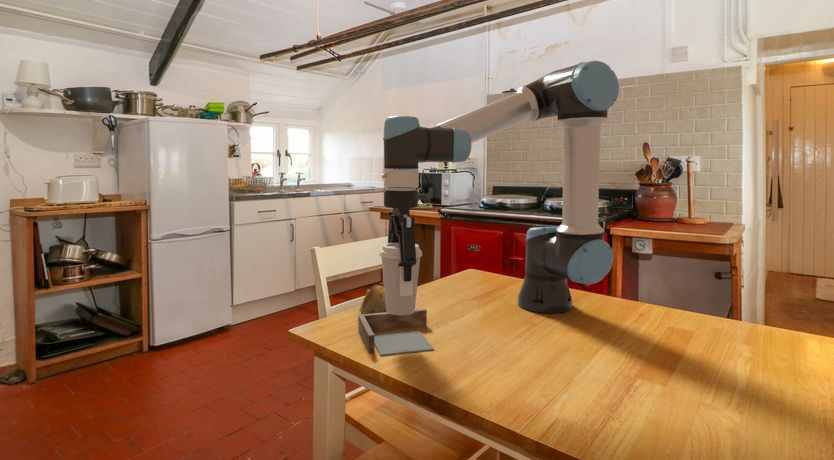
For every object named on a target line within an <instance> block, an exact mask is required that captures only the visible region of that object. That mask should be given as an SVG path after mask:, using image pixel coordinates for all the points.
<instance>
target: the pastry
mask: <svg viewBox="0 0 834 460" xmlns="http://www.w3.org/2000/svg"><path fill="white" fill-rule="evenodd" d="M358 309H359V312H360V313H361V314H373V313H385V312H386V304H385V292H384V285H383V286H381V285H373V286H371V288H367V289H366V294H365V296H364V297H363V300H362V302H361V304H360V307H359V308H358Z"/></svg>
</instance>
